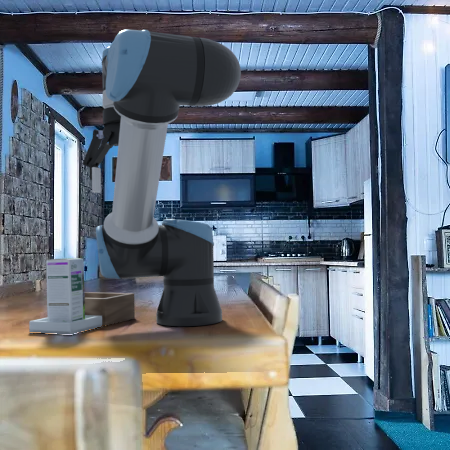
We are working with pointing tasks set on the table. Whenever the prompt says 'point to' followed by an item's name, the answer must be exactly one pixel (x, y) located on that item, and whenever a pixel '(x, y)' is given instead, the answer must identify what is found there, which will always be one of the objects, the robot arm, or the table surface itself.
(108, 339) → the table surface
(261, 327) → the table surface
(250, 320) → the table surface
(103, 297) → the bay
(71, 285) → the syrup box
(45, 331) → the tray
